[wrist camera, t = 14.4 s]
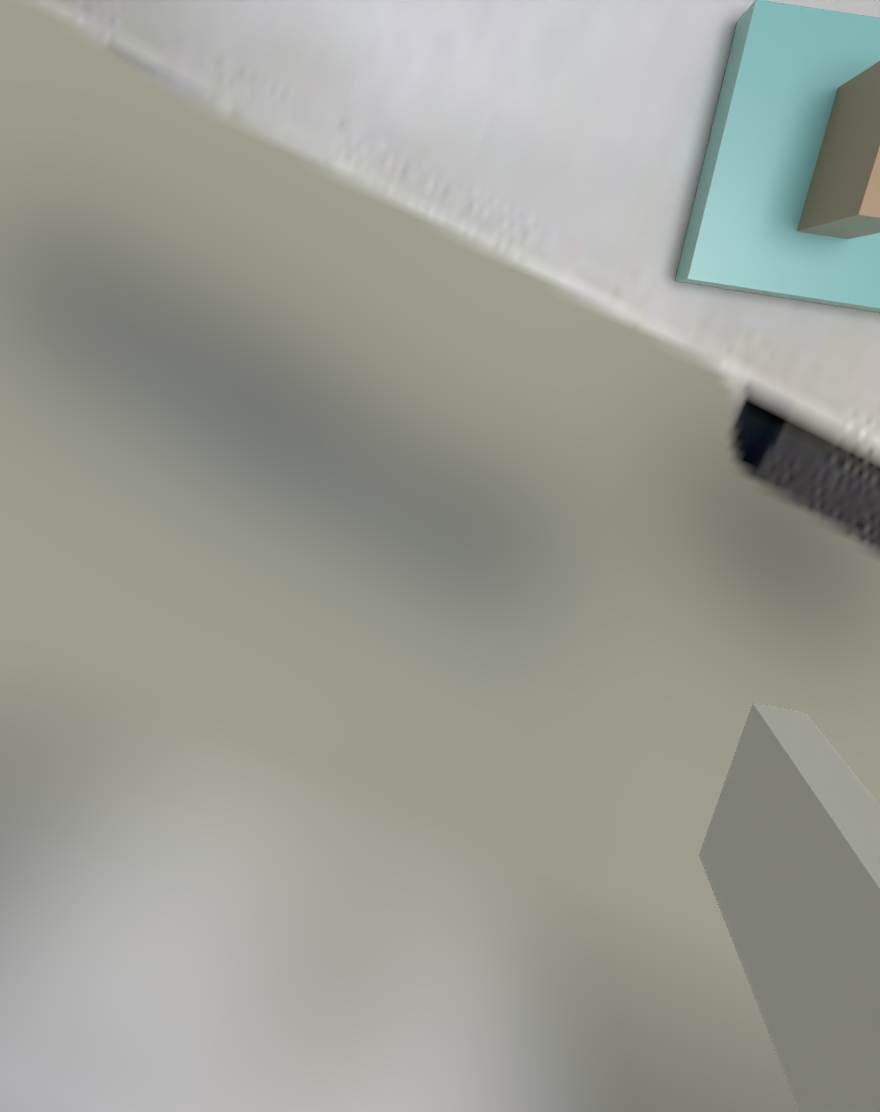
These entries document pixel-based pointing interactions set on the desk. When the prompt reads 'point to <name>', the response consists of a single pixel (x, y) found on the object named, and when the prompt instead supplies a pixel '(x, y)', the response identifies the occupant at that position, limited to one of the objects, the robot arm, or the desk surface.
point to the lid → (793, 162)
